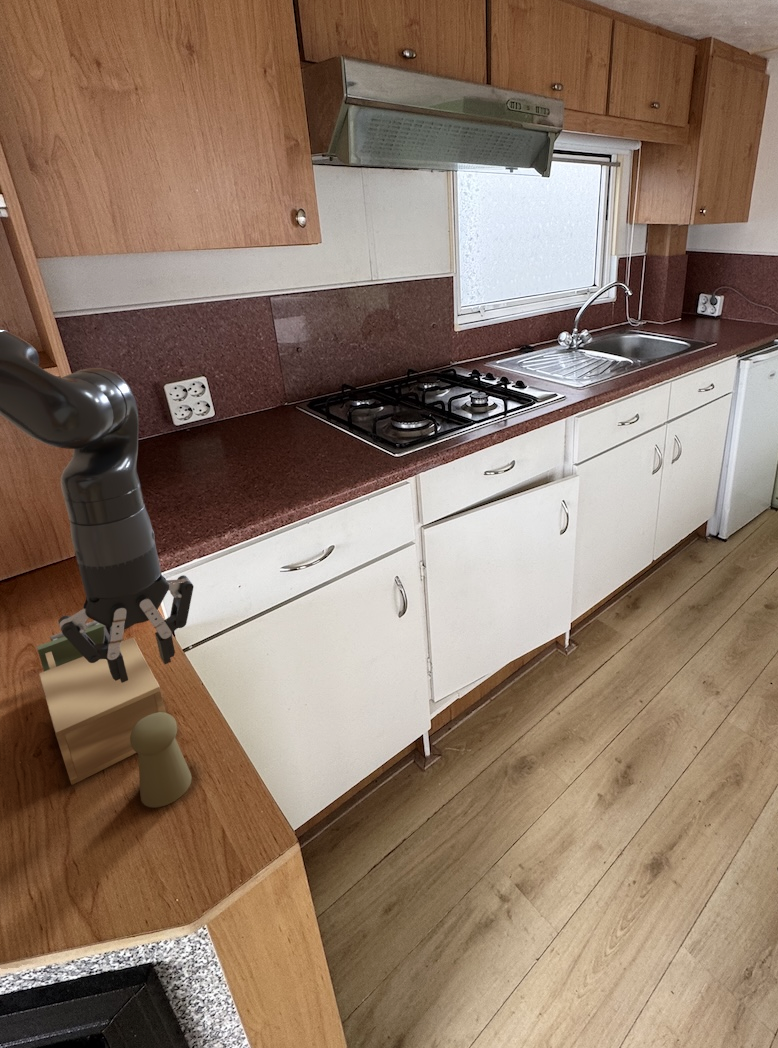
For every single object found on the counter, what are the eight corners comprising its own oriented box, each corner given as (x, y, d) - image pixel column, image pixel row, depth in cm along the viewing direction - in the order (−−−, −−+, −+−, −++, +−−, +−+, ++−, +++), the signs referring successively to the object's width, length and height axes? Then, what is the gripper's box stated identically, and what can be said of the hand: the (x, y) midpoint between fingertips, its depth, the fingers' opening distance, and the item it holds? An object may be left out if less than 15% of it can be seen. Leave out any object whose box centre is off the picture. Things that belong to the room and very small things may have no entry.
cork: (198, 786, 77) (185, 723, 74) (148, 816, 73) (131, 750, 70) (182, 759, 81) (169, 697, 78) (134, 786, 77) (117, 722, 74)
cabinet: (53, 721, 87) (38, 673, 84) (144, 682, 95) (133, 636, 92) (71, 785, 77) (55, 733, 74) (170, 735, 85) (159, 686, 82)
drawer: (42, 665, 97) (31, 629, 95) (117, 637, 104) (109, 602, 102) (62, 733, 84) (50, 693, 82) (146, 695, 91) (137, 657, 89)
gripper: (174, 516, 73) (196, 629, 78) (33, 555, 63) (69, 681, 69) (194, 538, 68) (215, 657, 73) (43, 584, 58) (81, 717, 64)
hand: (144, 668), depth 71 cm, fingers open, 4 cm apart
